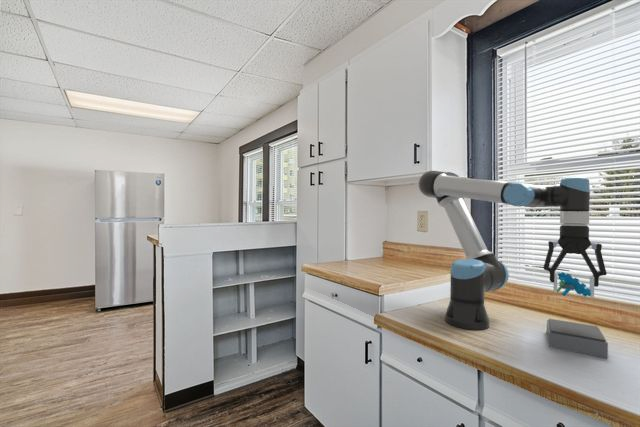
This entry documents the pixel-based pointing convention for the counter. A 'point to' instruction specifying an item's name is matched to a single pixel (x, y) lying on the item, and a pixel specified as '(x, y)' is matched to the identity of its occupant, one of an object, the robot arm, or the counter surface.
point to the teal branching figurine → (572, 285)
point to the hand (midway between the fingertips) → (573, 294)
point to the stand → (576, 338)
